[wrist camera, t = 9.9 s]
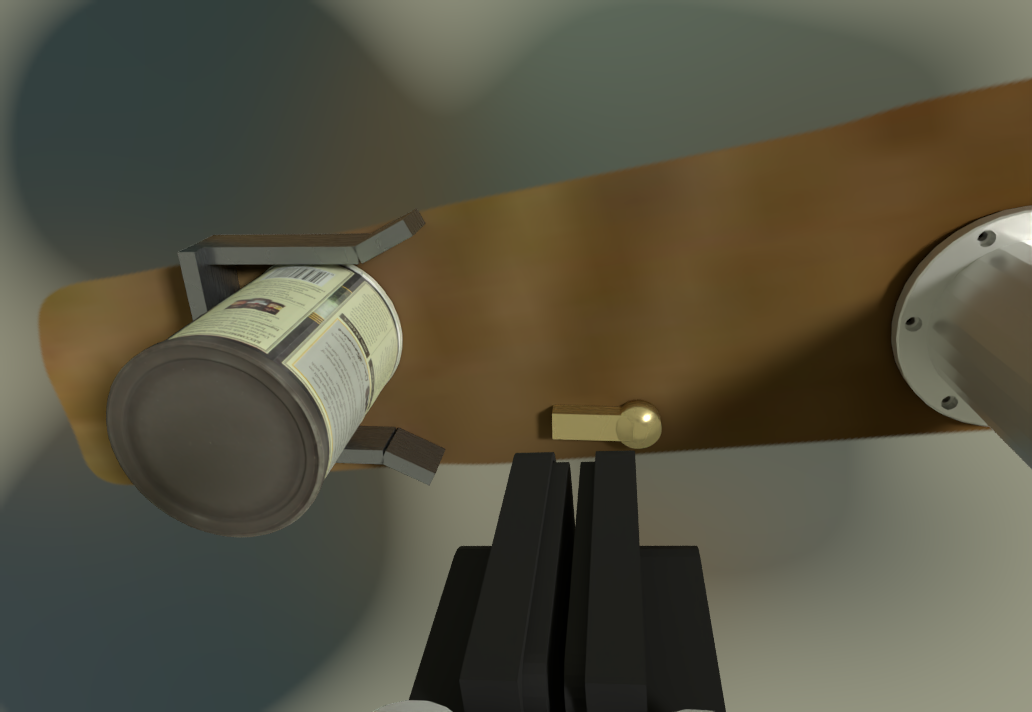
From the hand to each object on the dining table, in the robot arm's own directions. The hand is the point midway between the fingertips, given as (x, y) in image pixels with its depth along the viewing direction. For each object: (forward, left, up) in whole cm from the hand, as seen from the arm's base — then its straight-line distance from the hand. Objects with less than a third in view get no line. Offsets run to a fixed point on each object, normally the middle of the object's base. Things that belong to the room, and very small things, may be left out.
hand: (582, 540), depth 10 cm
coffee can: (+17, +10, -32) cm, 38 cm away
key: (+1, +15, -32) cm, 35 cm away
